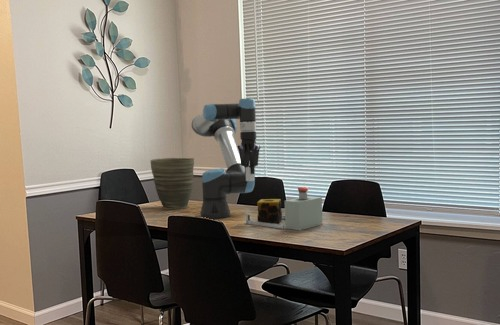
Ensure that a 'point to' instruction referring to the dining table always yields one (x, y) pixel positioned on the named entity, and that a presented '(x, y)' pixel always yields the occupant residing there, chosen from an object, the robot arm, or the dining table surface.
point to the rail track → (264, 223)
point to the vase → (173, 181)
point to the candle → (269, 211)
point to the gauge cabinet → (303, 213)
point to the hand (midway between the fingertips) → (250, 180)
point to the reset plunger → (303, 193)
